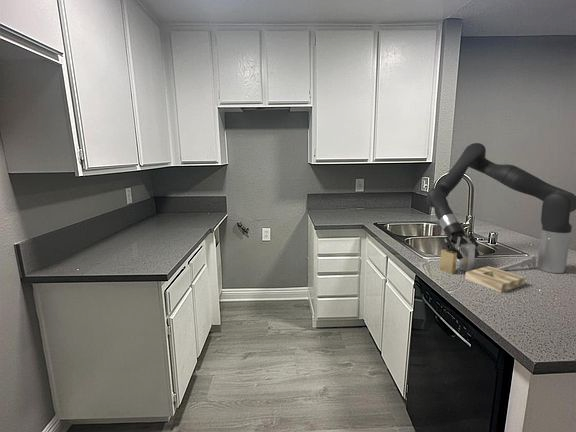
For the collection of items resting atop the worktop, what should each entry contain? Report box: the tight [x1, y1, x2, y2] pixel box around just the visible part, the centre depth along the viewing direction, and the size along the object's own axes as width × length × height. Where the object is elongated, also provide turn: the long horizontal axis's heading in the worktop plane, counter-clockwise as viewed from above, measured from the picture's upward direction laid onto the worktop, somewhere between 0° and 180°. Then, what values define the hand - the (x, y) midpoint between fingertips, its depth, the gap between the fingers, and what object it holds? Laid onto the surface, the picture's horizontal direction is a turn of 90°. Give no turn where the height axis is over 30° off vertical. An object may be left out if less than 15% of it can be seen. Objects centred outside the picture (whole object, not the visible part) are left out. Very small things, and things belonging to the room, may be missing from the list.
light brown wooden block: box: [439, 249, 458, 275], centre depth 131 cm, size 2×6×9 cm, turn 24°
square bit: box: [458, 242, 475, 272], centre depth 133 cm, size 4×4×11 cm
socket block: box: [464, 265, 526, 293], centre depth 120 cm, size 14×14×3 cm
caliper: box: [496, 254, 537, 271], centre depth 131 cm, size 20×1×6 cm, turn 99°
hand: (469, 257), depth 132 cm, fingers open, 8 cm apart
